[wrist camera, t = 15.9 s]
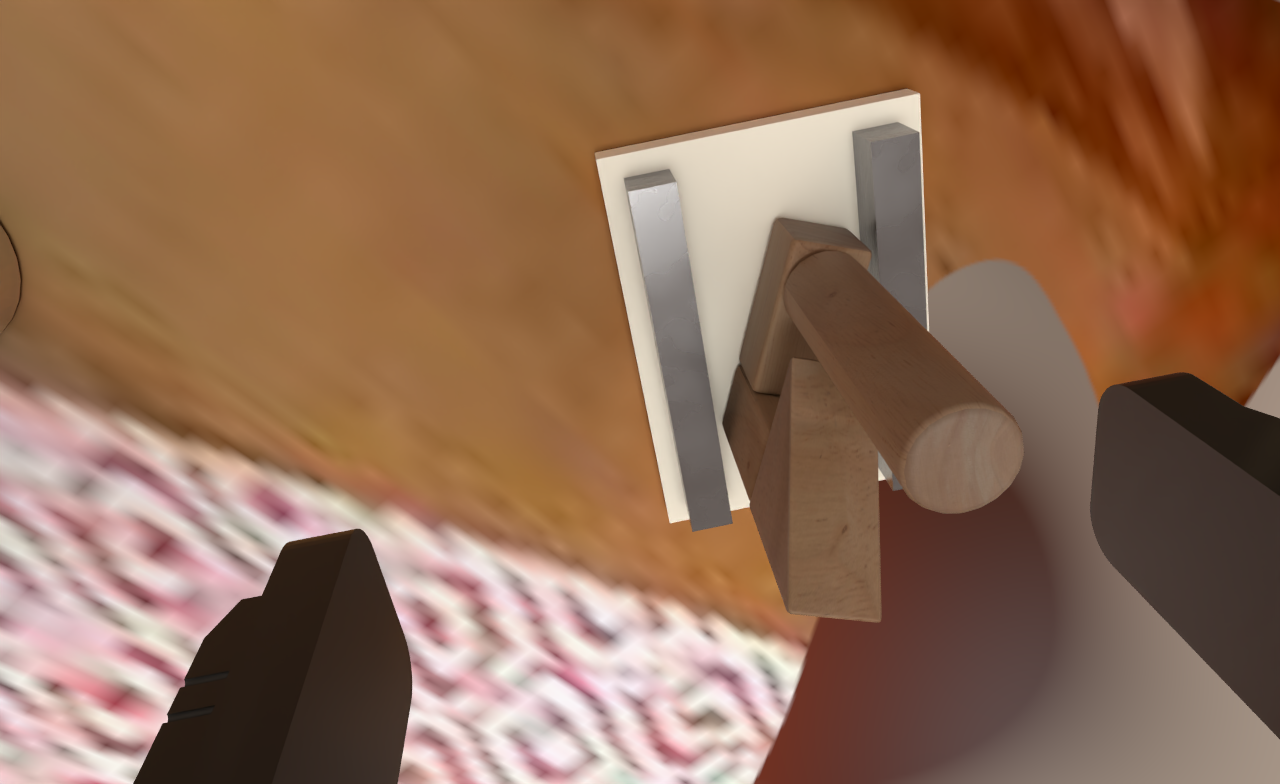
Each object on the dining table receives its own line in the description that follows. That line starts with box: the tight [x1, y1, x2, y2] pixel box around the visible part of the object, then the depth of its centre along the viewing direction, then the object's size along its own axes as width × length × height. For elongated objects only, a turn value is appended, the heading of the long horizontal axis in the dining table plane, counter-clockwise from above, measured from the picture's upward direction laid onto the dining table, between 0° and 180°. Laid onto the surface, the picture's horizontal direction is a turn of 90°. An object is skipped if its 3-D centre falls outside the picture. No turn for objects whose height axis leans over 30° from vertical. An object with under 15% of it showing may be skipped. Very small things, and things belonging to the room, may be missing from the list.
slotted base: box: [595, 89, 929, 532], centre depth 41 cm, size 14×19×4 cm
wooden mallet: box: [722, 218, 1024, 622], centre depth 34 cm, size 4×11×18 cm, turn 169°
